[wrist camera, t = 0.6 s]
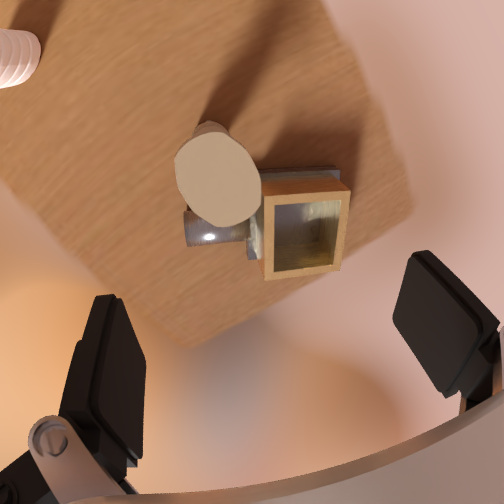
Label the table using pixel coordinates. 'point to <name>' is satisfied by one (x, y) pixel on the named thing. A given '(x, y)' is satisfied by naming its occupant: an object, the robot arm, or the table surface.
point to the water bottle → (17, 56)
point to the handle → (217, 176)
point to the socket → (288, 223)
